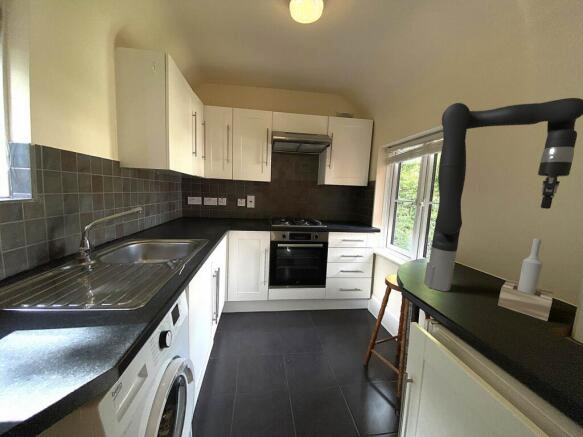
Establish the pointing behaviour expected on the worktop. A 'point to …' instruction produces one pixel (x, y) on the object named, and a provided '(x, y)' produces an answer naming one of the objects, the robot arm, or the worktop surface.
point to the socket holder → (526, 301)
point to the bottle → (531, 270)
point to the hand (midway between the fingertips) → (545, 208)
